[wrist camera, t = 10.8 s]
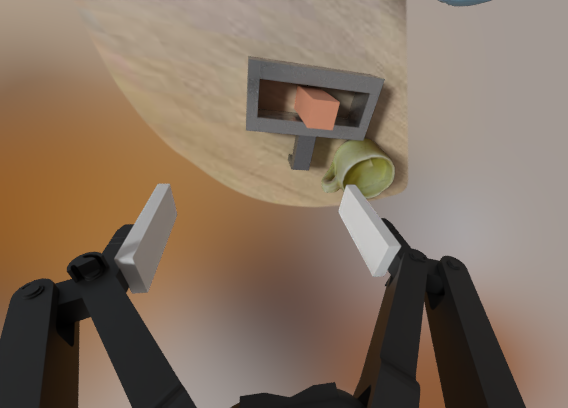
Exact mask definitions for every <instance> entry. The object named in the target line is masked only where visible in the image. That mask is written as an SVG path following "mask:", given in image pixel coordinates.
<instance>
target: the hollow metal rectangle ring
mask: <svg viewBox="0 0 568 408" xmlns="http://www.w3.org/2000/svg"><path fill="white" fill-rule="evenodd" d="M260 79H266V80H274V81H282V82H289V83H297V84H304V85H312V86H319V87H327V88H334V89H342V90H349V91H355V94H354V98H353V101H352V105H351V108H350V111H349V115H348V118H339V117H336V119H335V123H334V127H333V130H324V129H314V128H307V127H306V125H305V124H304V122H303V121H302V119H301V118H300V116H299V115H298V113H292V112H283V111H274V110H264V109H258V96H259V81H260ZM384 80H385V79H383V78H380V77H376V76H373V75H370V74H364V73H358V72H351V71H345V70H338V69H331V68H325V67H318V66H311V65H305V64H298V63H291V62H285V61H278V60H271V59H265V58H258V57H251V56H248V80H247V108H246V130H248V131H259V132H270V133H282V134H293V135H296V138H295V144H294V149H293V155H290V154H289V157H288V161H289V164H290V166H291V169H293V170H309V167H310V162H311V158H312V153H313V149H314V144H315V140H316V137H327V138H338V139H349V140H361V141H363V140H364V137H365V134H366V131H367V128H368V126H369V123H370V120H371V117H372V114H373V111H374V109H375V106H376V103H377V100H378V97H379V94H380V91H381V89H382V86H383V83H384Z"/></svg>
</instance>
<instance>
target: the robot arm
mask: <svg viewBox="0 0 568 408" xmlns="http://www.w3.org/2000/svg"><path fill="white" fill-rule="evenodd" d="M438 1H440V2H444V3H447V4H448V5H452V6H470V5H476V4H480V3H484V2H487V1H491V0H438ZM339 214H340V216H341V218H342V220H343V222H344V223H345V225H346V227H347V229H348V231H349V233H350V235H351V236H352V238H353V240H354V242H355V244H356V246H357V248H358V250H359V251H360V253H361V255H362V257H363V259H364V261H365V263H366V264H367V266H368V268H369V270H370V272H371V274H372V276H373V277H379V276H385V274H386V272H387V270H388V271H389V273H390V274H391V276H390V278H389V279H388V281H387V282H386V284H385V286H387V287H386V290H385V294H384V297H383V301H382V304H381V308H380V311H379V315H378V318H377V322H376V325H375V329H374V332H373V336H372V339H371V343H370V346H369V350H368V353H367V357H366V360H365V364H364V367H363V371H362V374H361V377H360V380H359V383H358V385H357V387H356V390H355V392H354V395H353V396H352V395H351V394H349V393H347V392H345V391H343V390H340V389H337V388H336V384H335V382H333V383H326V384H320V385H313V386H311V387H309V388H308V389H305V390H303V391H302V392H300V393H298V394H296V395H294V396H292V397H285V396H279V395H274V394H268V393H259V394H253V395H246V396H240V402H239V403H238V404H236V405H234V406H232V407H231V408H419V400H420V385H419V383H418V382H417V381H416V368H417V359H418V351H419V342H420V332H421V324H422V315H423V306H424V302H425V307H426V312H427V317H428V322H429V327H430V332H431V337H432V342H433V347H434V352H435V357H436V362H437V367H438V372H439V377H440V382H441V387H442V392H443V397H444V402H445V407H446V408H526V407H525V404H524V402H523V399H522V397H521V395H520V392H519V390H518V388H517V385H516V383H515V381H514V379H513V376H512V374H511V371H510V369H509V367H508V364H507V362H506V359H505V357H504V355H503V353H502V350H501V348H500V345H499V343H498V341H497V338H496V336H495V334H494V331H493V329H492V327H491V324H490V322H489V320H488V317H487V315H486V312H485V310H484V308H483V306H482V303H481V301H480V298H479V296H478V294H477V291H476V289H475V287H474V284H473V282H472V280H471V277H470V275H469V273H468V270H467V268H466V266H465V265H464V264H463V263H462V262H461V261H459V260H458V259H456V258H454V257H451V256H444V257H442V258H441V260H440V261H438V260H433V259H428V258H427V257H426V255H424V254H423V253H422V252H420V251H418V250H416V249H411V248H410V246H409V245H408V243H407V242H406V241H405V240H404V239H403V237H402V236H401V235H400V234H399V232H398V231H397V230H396V229H395V227H394V226H393V224H392V223H390V222H389V221H388V220H387V219H385V218H380V217H379V216H378V214H377V213H376V212H375V210H374V209H373V208H372V206H371V205H370V204H369V202H368V201H367V200H366V198H365V197H364V196H363V194H362V193H361V192H360V190H359V189H358V188H357V186H356V185H346V188H345V191H344V195H343V198H342V201H341V205H340V208H339ZM176 217H177V211H176V207H175V203H174V199H173V195H172V191H171V187H170V184H158V185H157V186H156V188H155V190H154V192H153V193H152V195H151V197H150V198H149V200H148V202H147V204H146V205H145V207H144V209H143V210H142V212H141V214H140V216H139V217H138V219H137V221H136V222H135V224H130V225H129V224H128V225H124V226H122V227H121V228H120V229H118V230H117V231H116V233H115V234H114V236H113V237H112V239H111V241H110V242H109V244H108V245H107V247H106V248H105V250H104V251H103V253H102V254H101V253H99V252H89V253H85V254H83V255H80V256H78V257H76V258H75V259H74V260H72V261H71V262H70V263H69V265H68V267H67V272H68V273H69V275H70V276H71V278H72V279H70V280H66V281H63V282H59V283H56V284H55V283H54V282H53V281H51V280H50V279H38V280H34V281H32V282H29V283H27V284H25V285H24V286H22V287H21V288H19V289H18V290H17V291H16V292H15V293H14V294H13V296H12V298H11V300H10V304H9V308H8V312H7V315H6V319H5V323H4V327H3V331H2V335H1V338H0V408H78V383H79V382H78V381H79V321H80V320H83V319H86V318H89V317H91V318H92V320H93V322H94V325H95V327H96V329H97V331H98V333H99V336H100V338H101V340H102V342H103V344H104V347H105V349H106V351H107V353H108V355H109V358H110V359H111V362H112V364H113V366H114V369H115V371H116V373H117V375H118V377H119V379H120V381H121V384H122V386H123V388H124V391H125V393H126V395H127V397H128V399H129V402H130V404H131V406H132V408H197V407H196V406H195V404H194V402H193V401H192V399H191V398H190V396H189V394H188V393H187V391H186V390H185V388H184V386H183V385H182V384H181V382H180V381H179V379H178V377H177V376H176V374H175V372H174V371H173V370H172V367H171V366H170V364H169V363H168V361H167V359H166V358H165V356H164V354H163V353H162V351H161V349H160V348H159V346H158V345H157V343H156V341H155V340H154V338H153V336H152V335H151V333H150V332H149V330H148V328H147V327H146V325H145V323H144V322H143V320H142V319H141V317H140V315H139V314H138V312H137V310H136V309H135V307H134V306H133V304H132V302H131V301H130V299H129V297H128V296H127V294H126V292H127V290H128V288H130V290H131V292H132V293H146V292H148V291H149V288H150V285H151V283H152V280H153V277H154V274H155V272H156V269H157V267H158V264H159V262H160V259H161V256H162V254H163V251H164V248H165V246H166V243H167V240H168V238H169V235H170V232H171V229H172V227H173V225H174V222H175V219H176Z"/></svg>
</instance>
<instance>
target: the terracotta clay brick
mask: <svg viewBox="0 0 568 408" xmlns="http://www.w3.org/2000/svg"><path fill="white" fill-rule="evenodd" d="M339 104H340V102H339V101H337V100H336V99H335V98H333V97H332V96H330V95H329V94H328V93H326V92H325V91H323V90H322V89H320V88H319V87H312V86H304V85H298V87H297V93H296V100H295V106H294V109H295V110H296V112H297V113H298V115H299V116H300V118H301V119H302V121H303V122H304V124H305V125H306V127H307V128H314V129H324V130H333V127H334V123H335V119H336V115H337V112H338V108H339Z"/></svg>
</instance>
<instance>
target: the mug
mask: <svg viewBox="0 0 568 408" xmlns="http://www.w3.org/2000/svg"><path fill="white" fill-rule="evenodd" d="M394 175H395V166H394V164H393V162H392V160H391V158H390V157H389V156H388V155H386V154H385V153H384V152H383V151H382V150H381V149H380V148H379V147H378V145H377V144H376V143H375V142H373V141H372V140H370V139H367V138H364V140H363V141H361V140H348V141H347V142H345V143H344V144H342V145H341V146H340V147H339V149H338V150H337V152H336V154H335V156H334V159H333V162H332V164H331V167H330V169H329V170H328V171H327V173H326V174H325V176H324V177H323V179H322V189H323V191H324V192H327V193H332V192H336V191H338V190H339V189H340V188H341V189H342V190H343V192H344V191H345V188H346V185H356V186H357V188H358V189H359V190H360V192H361V193H362V194H363V196H364V197H365V198H366V199H370V198H373V197H375V196H378V195H380V194H381V193H382V191H384V190H385V189H387V188H388V187H389V186H390V185H391V183H392V182H393V179H394ZM335 176H336V177H335ZM334 177H335V179H334V180H333V178H334Z"/></svg>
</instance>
